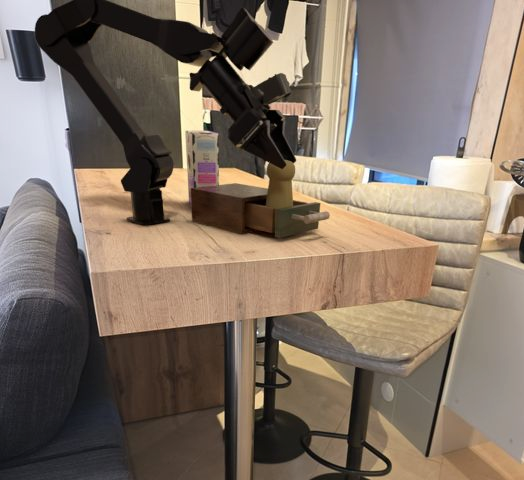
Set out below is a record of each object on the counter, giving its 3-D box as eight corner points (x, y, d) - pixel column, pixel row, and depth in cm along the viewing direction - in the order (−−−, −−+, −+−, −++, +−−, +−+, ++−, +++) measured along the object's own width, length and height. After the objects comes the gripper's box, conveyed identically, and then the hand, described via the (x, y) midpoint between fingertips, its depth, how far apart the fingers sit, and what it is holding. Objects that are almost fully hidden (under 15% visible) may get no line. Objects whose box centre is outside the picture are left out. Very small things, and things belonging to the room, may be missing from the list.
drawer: (336, 232, 85) (339, 206, 83) (298, 242, 77) (300, 213, 75) (266, 217, 95) (267, 193, 93) (227, 224, 88) (226, 199, 86)
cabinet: (285, 225, 93) (286, 191, 90) (241, 234, 85) (242, 197, 82) (235, 214, 102) (235, 183, 99) (191, 221, 94) (190, 188, 91)
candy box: (220, 212, 103) (219, 132, 95) (194, 213, 102) (191, 131, 94) (211, 201, 115) (209, 129, 107) (187, 202, 113) (184, 129, 106)
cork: (260, 219, 88) (262, 158, 83) (291, 219, 89) (294, 158, 84) (265, 225, 83) (267, 161, 78) (297, 225, 84) (301, 161, 79)
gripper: (248, 45, 66) (316, 132, 69) (276, 59, 82) (330, 129, 85) (199, 105, 72) (265, 183, 74) (234, 107, 88) (287, 171, 91)
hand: (289, 164), depth 81 cm, fingers open, 9 cm apart
